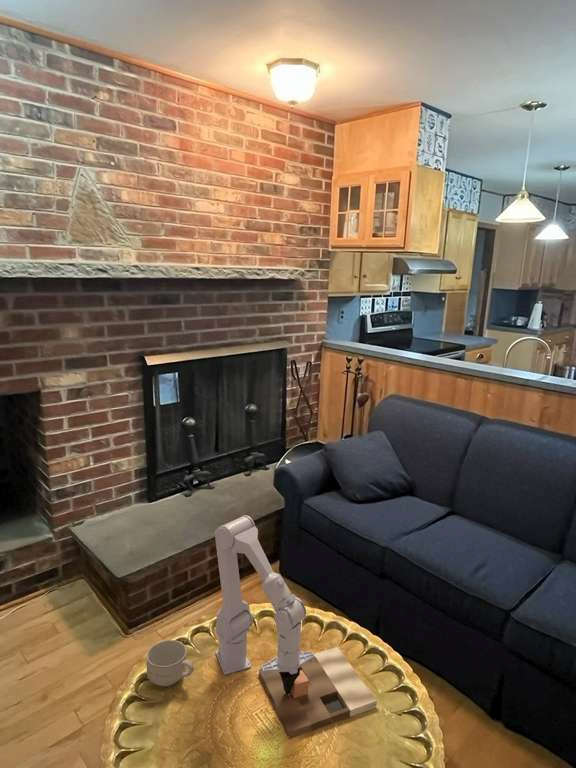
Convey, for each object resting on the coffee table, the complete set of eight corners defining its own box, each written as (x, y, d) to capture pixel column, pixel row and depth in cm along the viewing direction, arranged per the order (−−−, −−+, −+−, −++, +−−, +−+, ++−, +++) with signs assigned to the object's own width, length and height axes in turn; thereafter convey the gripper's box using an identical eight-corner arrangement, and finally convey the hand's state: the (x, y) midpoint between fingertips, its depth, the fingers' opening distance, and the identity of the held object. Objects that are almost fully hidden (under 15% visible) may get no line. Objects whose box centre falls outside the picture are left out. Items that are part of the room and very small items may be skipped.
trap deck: (258, 675, 137) (259, 669, 137) (337, 652, 147) (337, 646, 147) (288, 739, 118) (289, 732, 118) (376, 707, 128) (376, 700, 128)
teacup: (138, 680, 134) (137, 654, 133) (168, 656, 143) (168, 632, 142) (173, 705, 127) (173, 679, 125) (203, 679, 135) (203, 654, 134)
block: (287, 686, 131) (288, 673, 131) (301, 682, 133) (302, 669, 132) (294, 698, 128) (295, 684, 127) (307, 693, 129) (308, 680, 129)
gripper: (268, 664, 120) (266, 711, 122) (321, 648, 125) (318, 694, 128) (258, 644, 126) (257, 690, 129) (309, 631, 132) (306, 674, 134)
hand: (287, 690), depth 129 cm, fingers closed
